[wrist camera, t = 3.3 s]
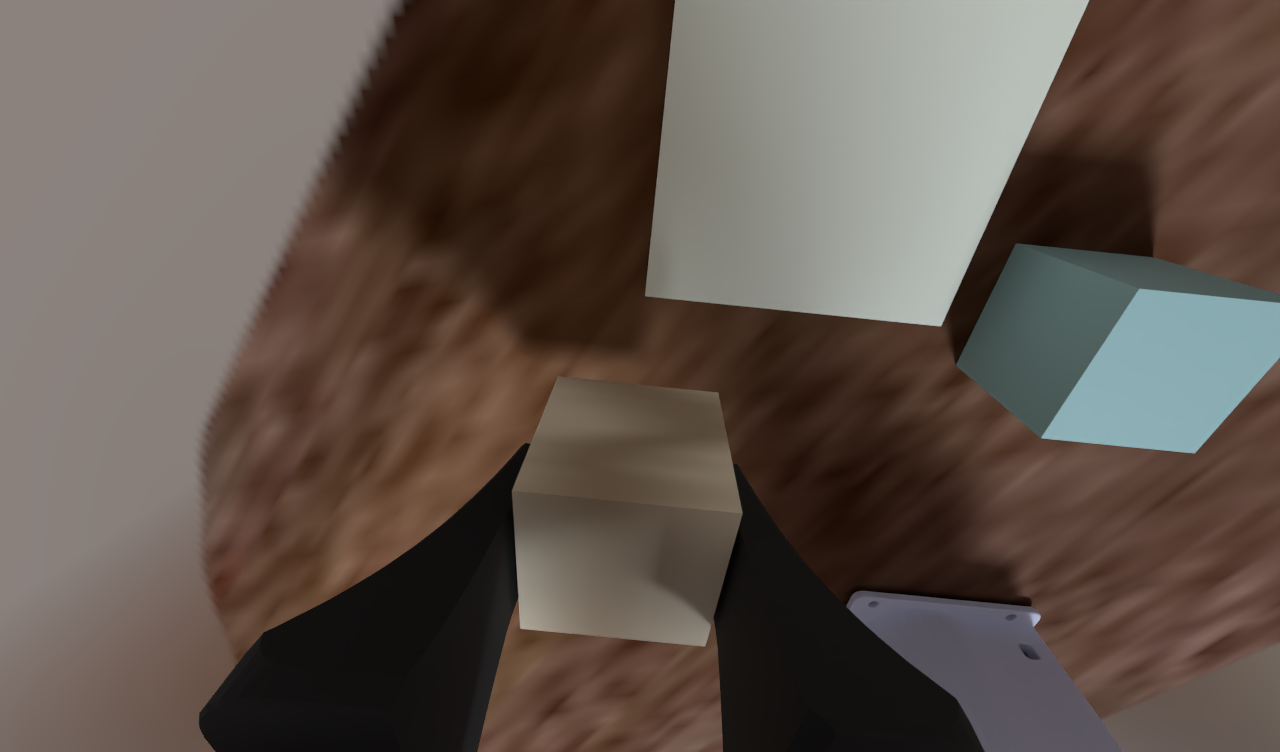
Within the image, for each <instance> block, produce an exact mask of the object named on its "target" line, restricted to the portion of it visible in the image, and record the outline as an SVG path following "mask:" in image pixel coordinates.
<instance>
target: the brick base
mask: <svg viewBox="0 0 1280 752" xmlns="http://www.w3.org/2000/svg"><path fill="white" fill-rule="evenodd" d="M512 500H513V516H514V533H515V549H516V565H517V581H518V597H519V614H520V629H530V630H540V631H550V632H561V633H571V634H581V635H592V636H602V637H612V638H623V639H633V640H643V641H654V642H664V643H674V644H685V645H695V646H705V645H706V642H707V638H708V635H709V631H710V628H711V624H712V621H713V617H714V613H715V610H716V606H717V603H718V599H719V596H720V592H721V589H722V585H723V581H724V578H725V574H726V571H727V567H728V564H729V560H730V557H731V553H732V549H733V546H734V542H735V539H736V535H737V532H738V528H739V525H740V521H741V517H742V514H743V513H742V508H741V503H740V498H739V493H738V488H737V483H736V478H735V473H734V468H733V463H732V458H731V453H730V448H729V443H728V439H727V434H726V429H725V424H724V419H723V414H722V409H721V404H720V399H719V394H718V392H708V391H698V390H688V389H678V388H668V387H658V386H648V385H638V384H629V383H619V382H609V381H599V380H589V379H579V378H569V377H559V376H558V378H557V380H556V382H555V385H554V387H553V390H552V392H551V395H550V397H549V400H548V402H547V405H546V407H545V410H544V412H543V415H542V417H541V420H540V422H539V425H538V427H537V430H536V432H535V435H534V437H533V440H532V442H531V444H530V447H529V449H528V452H527V454H526V457H525V459H524V462H523V464H522V467H521V469H520V472H519V474H518V477H517V479H516V482H515V484H514V487H513V489H512Z"/></svg>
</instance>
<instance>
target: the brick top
mask: <svg viewBox="0 0 1280 752" xmlns="http://www.w3.org/2000/svg"><path fill="white" fill-rule="evenodd" d="M1279 358H1280V294H1276V293H1273V292H1270V291H1266V290H1263V289H1259V288H1256V287H1253V286H1249V285H1246V284H1242V283H1239V282H1236V281H1232V280H1229V279H1225V278H1222V277H1218V276H1215V275H1212V274H1208V273H1205V272H1201V271H1198V270H1195V269H1191V268H1188V267H1184V266H1181V265H1178V264H1174V263H1171V262H1167V261H1164V260H1160V259H1157V258H1154V257H1145V256H1135V255H1125V254H1116V253H1106V252H1096V251H1086V250H1076V249H1066V248H1057V247H1047V246H1037V245H1027V244H1017V243H1016V244H1015V246H1014V248H1013V250H1012V252H1011V254H1010V256H1009V258H1008V260H1007V262H1006V264H1005V266H1004V268H1003V271H1002V273H1001V275H1000V277H999V279H998V281H997V283H996V285H995V287H994V289H993V291H992V293H991V295H990V297H989V299H988V301H987V303H986V305H985V307H984V309H983V311H982V313H981V315H980V317H979V319H978V321H977V323H976V325H975V327H974V329H973V331H972V333H971V336H970V338H969V340H968V342H967V344H966V346H965V348H964V350H963V352H962V354H961V356H960V358H959V360H958V362H957V364H956V366H957V367H958V368H960V369H961V370H962V371H963V372H964V373H965V374H967V375H968V376H969V377H970V378H971V379H972V380H974V381H975V382H976V383H977V384H978V385H979V386H981V387H982V388H983V389H984V390H985V391H986V392H988V393H989V394H990V395H991V396H992V397H993V398H995V399H996V400H997V401H998V402H999V403H1000V404H1002V405H1003V406H1004V407H1005V408H1006V409H1007V410H1009V411H1010V412H1011V413H1012V414H1013V415H1014V416H1016V417H1017V418H1018V419H1019V420H1020V421H1021V422H1023V423H1024V424H1025V425H1026V426H1027V427H1028V428H1030V429H1031V430H1032V431H1033V432H1034V433H1035V434H1037V435H1038V436H1039V437H1040V438H1044V439H1054V440H1064V441H1074V442H1084V443H1095V444H1105V445H1115V446H1125V447H1135V448H1145V449H1156V450H1166V451H1176V452H1186V453H1195V452H1196V451H1197V450H1198V449H1199V448H1200V447H1201V446H1202V444H1203V443H1204V442H1205V441H1206V440H1207V439H1208V438H1209V437H1210V435H1211V434H1212V433H1213V432H1214V431H1215V430H1216V429H1217V428H1218V426H1219V425H1220V424H1221V423H1222V422H1223V421H1224V420H1225V419H1226V417H1227V416H1228V415H1229V414H1230V413H1231V412H1232V411H1233V410H1234V408H1235V407H1236V406H1237V405H1238V404H1239V403H1240V402H1241V401H1242V399H1243V398H1244V397H1245V396H1246V395H1247V394H1248V393H1249V392H1250V390H1251V389H1252V388H1253V387H1254V386H1255V385H1256V384H1257V382H1258V381H1259V380H1260V379H1261V378H1262V377H1263V376H1264V375H1265V373H1266V372H1267V371H1268V370H1269V369H1270V368H1271V367H1272V366H1273V364H1274V363H1275V362H1276V361H1277V360H1278V359H1279Z"/></svg>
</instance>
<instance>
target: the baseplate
mask: <svg viewBox="0 0 1280 752" xmlns="http://www.w3.org/2000/svg"><path fill="white" fill-rule="evenodd" d="M1088 2H1089V0H675V6H674V16H673V26H672V35H671V45H670V55H669V65H668V75H667V84H666V94H665V104H664V114H663V124H662V133H661V143H660V153H659V163H658V173H657V183H656V192H655V202H654V212H653V222H652V232H651V241H650V251H649V261H648V271H647V281H646V291H645V296H647V297H657V298H666V299H676V300H686V301H696V302H706V303H716V304H725V305H735V306H745V307H755V308H765V309H775V310H784V311H794V312H804V313H814V314H824V315H834V316H843V317H853V318H863V319H873V320H883V321H893V322H902V323H912V324H922V325H932V326H941V325H942V323H943V321H944V319H945V316H946V314H947V312H948V310H949V308H950V305H951V303H952V301H953V299H954V297H955V294H956V292H957V290H958V288H959V286H960V283H961V281H962V279H963V277H964V275H965V272H966V270H967V268H968V266H969V264H970V261H971V259H972V257H973V255H974V253H975V250H976V248H977V246H978V244H979V242H980V239H981V237H982V235H983V233H984V231H985V228H986V226H987V224H988V222H989V220H990V217H991V215H992V213H993V211H994V209H995V206H996V204H997V202H998V200H999V198H1000V195H1001V193H1002V191H1003V189H1004V187H1005V184H1006V182H1007V180H1008V178H1009V176H1010V173H1011V171H1012V169H1013V167H1014V165H1015V162H1016V160H1017V158H1018V156H1019V154H1020V151H1021V149H1022V147H1023V145H1024V143H1025V140H1026V138H1027V136H1028V134H1029V132H1030V129H1031V127H1032V125H1033V123H1034V121H1035V118H1036V116H1037V114H1038V112H1039V110H1040V107H1041V105H1042V103H1043V101H1044V99H1045V96H1046V94H1047V92H1048V90H1049V88H1050V85H1051V83H1052V81H1053V79H1054V77H1055V74H1056V72H1057V70H1058V68H1059V66H1060V63H1061V61H1062V59H1063V57H1064V55H1065V52H1066V50H1067V48H1068V46H1069V44H1070V41H1071V39H1072V37H1073V35H1074V33H1075V30H1076V28H1077V26H1078V24H1079V22H1080V19H1081V17H1082V15H1083V13H1084V11H1085V8H1086V6H1087V4H1088Z"/></svg>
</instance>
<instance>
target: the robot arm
mask: <svg viewBox="0 0 1280 752" xmlns="http://www.w3.org/2000/svg"><path fill="white" fill-rule="evenodd" d="M529 447H530V444H528V443H525V444H524V445H522V446H521V447H520V449H519V450H518V451H517V452H516V453H515V454H514V455H513V456H512V458H511V459H510V460H509V461H508V462H507V463H506V464H505V465H504V466H503V467H502V469H501V470H500V471H499V472H498V473H497V474H496V475H495V476H494V477H493V478H492V479H491V480H490V481H489V482H488V483H487V484H486V485H485V486H484V487H483V488H482V489H481V490H480V491H479V492H478V493H477V494H476V495H475V496H474V497H473V498H472V499H471V500H469V501H468V502H467V503H466V504H465V505H464V506H463V507H462V508H461V509H459V510H458V511H457V512H456V513H455V514H454V515H453V516H452V517H451V518H449V519H448V520H447V521H446V522H445V523H443V524H442V525H441V526H440V527H439V528H437V529H436V530H435V531H434V532H432V533H431V534H430V535H428V536H427V537H426V538H424V539H423V540H422V541H421V542H419V543H418V544H417V545H415V546H414V547H412V548H411V549H410V550H408V551H407V552H405V553H404V554H402V555H401V556H400V557H398V558H397V559H395V560H394V561H392V562H391V563H389V564H388V565H386V566H385V567H383V568H382V569H380V570H379V571H377V572H376V573H374V574H372V575H371V576H369V577H367V578H366V579H364V580H362V581H361V582H359V583H357V584H356V585H354V586H352V587H351V588H349V589H347V590H346V591H344V592H342V593H340V594H339V595H337V596H335V597H333V598H331V599H330V600H328V601H326V602H324V603H322V604H320V605H318V606H316V607H314V608H312V609H310V610H308V611H307V612H305V613H303V614H301V615H299V616H297V617H295V618H293V619H291V620H289V621H287V622H285V623H283V624H281V625H279V626H277V627H275V628H272V629H270V630H268V631H266V632H264V633H263V634H262V635H261V637H260V638H259V639H258V640H257V641H256V642H255V643H254V645H253V646H252V647H251V648H250V649H249V650H248V651H247V652H246V654H245V655H244V656H243V657H242V659H241V660H240V661H239V663H238V664H237V665H236V666H235V668H234V669H233V670H232V672H231V673H230V674H229V676H228V677H227V678H226V679H225V681H224V682H223V683H222V685H221V686H220V687H219V689H218V690H217V691H216V692H215V694H214V695H213V696H212V698H211V699H210V700H209V702H208V703H207V704H206V705H205V707H204V708H203V709H202V711H201V712H200V715H199V727H200V730H201V732H202V733H203V735H204V737H205V739H206V740H207V741H208V743H209V744H210V745H211V746H212V748H213V749H214V750H215V751H216V752H477V750H478V746H479V742H480V737H481V733H482V729H483V724H484V720H485V716H486V712H487V708H488V704H489V699H490V695H491V691H492V687H493V683H494V679H495V675H496V671H497V667H498V663H499V659H500V656H501V652H502V648H503V644H504V640H505V636H506V632H507V629H508V626H509V622H510V619H511V616H512V613H513V610H514V607H515V605H516V602H517V599H518V581H517V565H516V549H515V533H514V516H513V500H512V489H513V487H514V484H515V482H516V479H517V477H518V474H519V472H520V469H521V467H522V464H523V462H524V459H525V457H526V454H527V452H528V449H529ZM733 468H734V473H735V478H736V483H737V488H738V493H739V498H740V503H741V508H742V513H743V514H742V517H741V521H740V525H739V528H738V532H737V535H736V539H735V542H734V546H733V549H732V553H731V557H730V560H729V564H728V567H727V571H726V574H725V578H724V581H723V585H722V589H721V592H720V596H719V599H718V603H717V606H716V610H715V613H714V622H715V629H716V637H717V645H718V657H719V674H720V691H721V712H722V733H723V752H1124V751H1123V750H1122V748H1121V747H1120V746H1119V744H1118V743H1117V741H1116V740H1115V739H1114V737H1113V736H1112V735H1111V733H1110V732H1109V730H1108V729H1107V728H1106V726H1105V725H1104V724H1103V722H1102V721H1101V719H1100V718H1099V717H1098V715H1097V714H1096V712H1095V711H1094V710H1093V708H1092V707H1091V706H1090V704H1089V703H1088V701H1087V700H1086V699H1085V697H1084V696H1083V695H1082V693H1081V692H1080V690H1079V689H1078V688H1077V686H1076V685H1075V684H1074V682H1073V681H1072V679H1071V678H1070V677H1069V675H1068V674H1067V673H1066V671H1065V670H1064V668H1063V667H1062V666H1061V664H1060V663H1059V662H1058V660H1057V659H1056V657H1055V656H1054V655H1053V653H1052V652H1051V651H1050V649H1049V648H1048V646H1047V645H1046V644H1045V642H1044V641H1043V640H1042V638H1041V637H1040V635H1039V634H1038V633H1037V631H1036V630H1035V629H1034V626H1035V625H1036V623H1037V622H1038V621H1039V620H1040V618H1041V616H1040V614H1039V613H1038V611H1037V610H1036V609H1035V608H1033V607H1029V606H1018V605H1008V604H997V603H987V602H976V601H966V600H955V599H945V598H934V597H924V596H913V595H903V594H892V593H882V592H871V591H858V592H855V593H854V594H853V595H852V596H851V598H850V600H849V602H848V604H847V606H845V605H844V604H843V603H842V602H841V601H840V600H839V599H838V598H837V597H836V596H835V595H834V594H833V593H832V592H831V591H830V590H829V589H828V588H827V587H826V586H825V585H824V584H823V583H822V581H821V580H820V579H819V578H818V577H817V576H816V575H815V574H814V573H813V571H812V570H811V569H810V568H809V567H808V566H807V564H806V563H805V562H804V561H803V560H802V558H801V557H800V556H799V555H798V553H797V552H796V551H795V550H794V548H793V547H792V546H791V544H790V543H789V542H788V541H787V539H786V538H785V536H784V535H783V534H782V532H781V531H780V530H779V528H778V527H777V525H776V524H775V523H774V521H773V520H772V518H771V517H770V515H769V514H768V512H767V511H766V510H765V508H764V507H763V505H762V503H761V502H760V500H759V499H758V497H757V496H756V494H755V493H754V491H753V489H752V488H751V486H750V484H749V483H748V481H747V479H746V478H745V476H744V474H743V473H742V471H741V469H740V468H739V467H738V465H737V464H733Z"/></svg>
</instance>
